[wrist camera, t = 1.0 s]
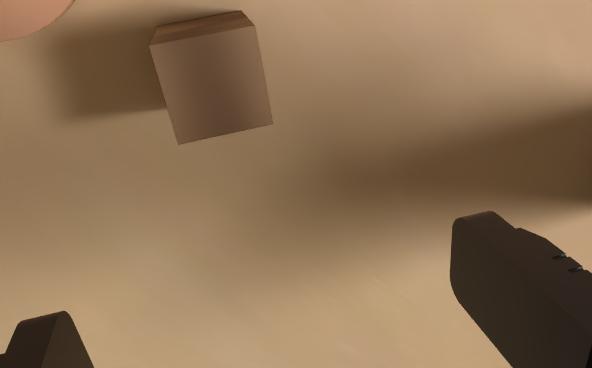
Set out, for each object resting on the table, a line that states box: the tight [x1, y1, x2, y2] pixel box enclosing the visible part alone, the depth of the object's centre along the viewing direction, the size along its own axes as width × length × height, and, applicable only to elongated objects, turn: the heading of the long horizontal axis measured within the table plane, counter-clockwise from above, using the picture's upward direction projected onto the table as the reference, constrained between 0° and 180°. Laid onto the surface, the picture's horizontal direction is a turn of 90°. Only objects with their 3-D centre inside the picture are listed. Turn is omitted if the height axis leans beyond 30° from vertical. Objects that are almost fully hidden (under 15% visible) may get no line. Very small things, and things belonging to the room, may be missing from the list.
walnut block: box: [149, 11, 273, 145], centre depth 23 cm, size 4×4×6 cm
